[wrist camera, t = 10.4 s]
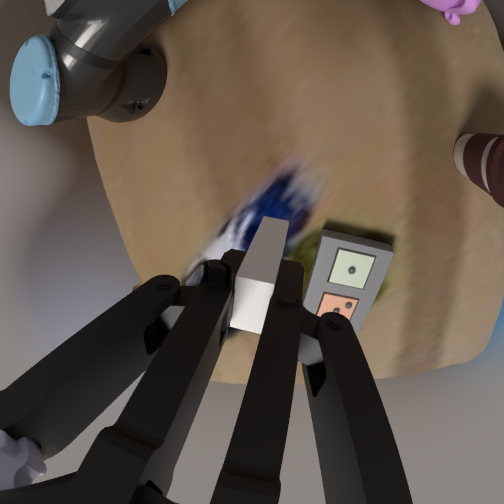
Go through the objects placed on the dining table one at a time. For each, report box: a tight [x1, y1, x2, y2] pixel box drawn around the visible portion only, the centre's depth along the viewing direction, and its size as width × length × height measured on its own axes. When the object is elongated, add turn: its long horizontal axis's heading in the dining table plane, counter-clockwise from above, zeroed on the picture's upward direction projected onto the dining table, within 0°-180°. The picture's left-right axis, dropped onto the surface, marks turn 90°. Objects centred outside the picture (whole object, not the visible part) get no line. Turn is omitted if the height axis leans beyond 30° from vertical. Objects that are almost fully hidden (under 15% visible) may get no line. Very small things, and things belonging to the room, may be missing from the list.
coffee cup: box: [454, 133, 504, 208], centre depth 25 cm, size 10×10×15 cm
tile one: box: [329, 247, 375, 289], centre depth 43 cm, size 6×6×3 cm
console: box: [302, 228, 394, 336], centre depth 47 cm, size 12×26×3 cm, turn 172°
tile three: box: [316, 291, 358, 319], centre depth 47 cm, size 6×6×3 cm
